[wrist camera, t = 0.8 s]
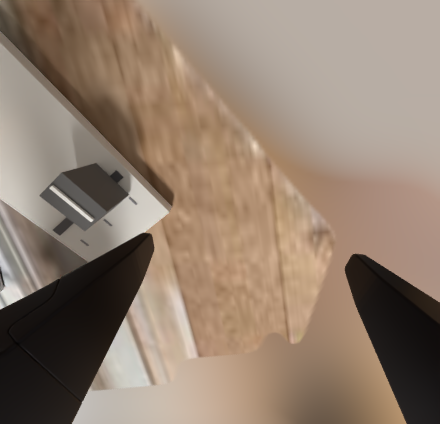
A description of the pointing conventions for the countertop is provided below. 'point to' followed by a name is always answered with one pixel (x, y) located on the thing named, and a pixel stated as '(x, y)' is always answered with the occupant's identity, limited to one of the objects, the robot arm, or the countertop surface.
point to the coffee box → (1, 284)
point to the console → (62, 160)
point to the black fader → (84, 194)
